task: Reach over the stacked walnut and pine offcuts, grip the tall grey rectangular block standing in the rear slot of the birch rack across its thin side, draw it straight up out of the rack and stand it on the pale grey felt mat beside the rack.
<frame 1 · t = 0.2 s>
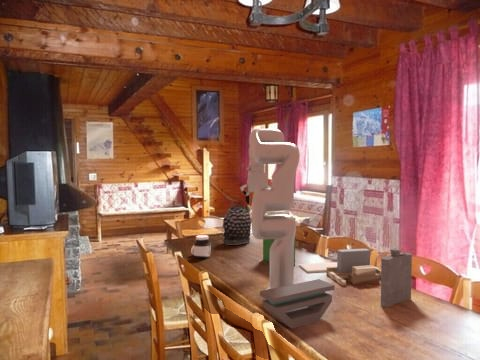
hand: (257, 203, 199), 31 cm above the table, fingers open, 9 cm apart
hip flask: (395, 302, 147), on the table
rack: (358, 278, 176), on the table
bumpy dark dome: (237, 243, 251), on the table
pine offcut: (363, 273, 171), point 4 cm above the table, touching walnut offcut
grey rectangular block: (353, 276, 180), resting in rack
sharpening stone: (297, 320, 131), on the table
walnut offcut: (363, 283, 171), on the table, touching pine offcut
felt mat: (324, 268, 193), on the table
spread jar: (200, 257, 217), on the table
hardback book: (278, 262, 204), on the table
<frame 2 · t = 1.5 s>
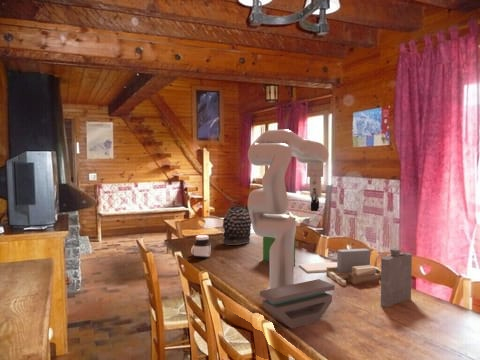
hand: (314, 209, 187), 29 cm above the table, fingers open, 9 cm apart
nothing on the table moved.
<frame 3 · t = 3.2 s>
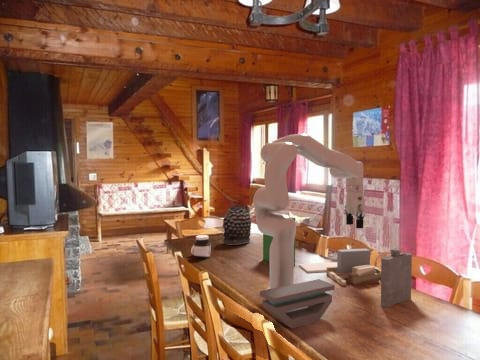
hand: (354, 226, 179), 23 cm above the table, fingers open, 9 cm apart
pine offcut: (363, 273, 171), point 4 cm above the table
walnut offcut: (363, 282, 171), on the table
everything else where it was.
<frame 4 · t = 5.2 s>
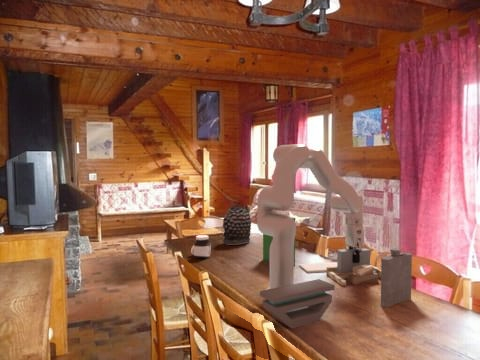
hand: (353, 261, 180), 7 cm above the table, fingers closed on grey rectangular block, 4 cm apart
pine offcut: (363, 273, 171), point 4 cm above the table, touching walnut offcut
grey rectangular block: (353, 275, 180), resting in rack, touching gripper
walnut offcut: (362, 282, 171), on the table, touching pine offcut
everything else where it was.
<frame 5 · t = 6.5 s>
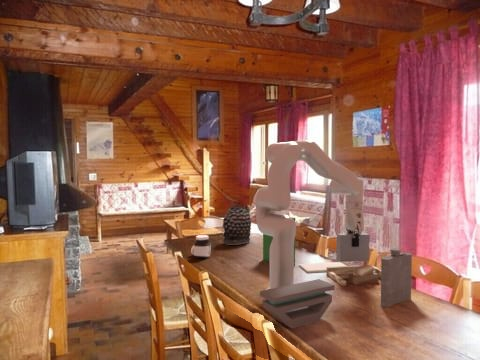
hand: (352, 245, 179), 14 cm above the table, fingers closed on grey rectangular block, 4 cm apart
grey rectangular block: (352, 260, 179), point 7 cm above the table, touching gripper
everything else where it was.
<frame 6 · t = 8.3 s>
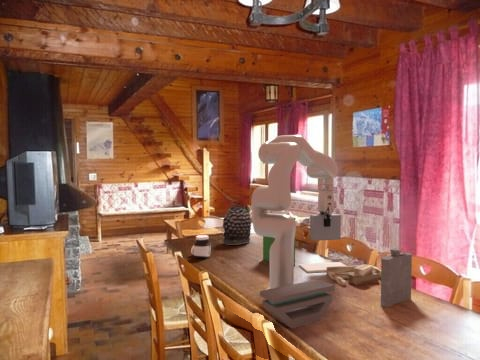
hand: (325, 225, 191), 21 cm above the table, fingers closed on grey rectangular block, 4 cm apart
pine offcut: (363, 273, 171), point 4 cm above the table
grey rectangular block: (325, 239, 192), point 14 cm above the table, touching gripper
walnut offcut: (363, 282, 171), on the table
everything else where it was.
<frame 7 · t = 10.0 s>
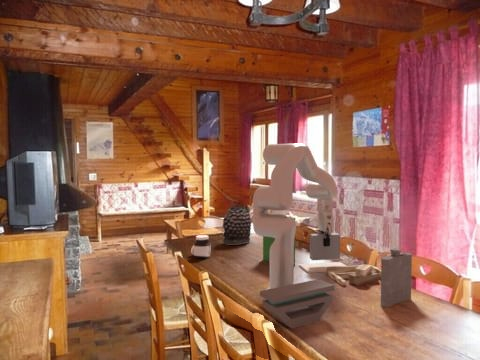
hand: (324, 244, 192), 12 cm above the table, fingers closed on grey rectangular block, 4 cm apart
pine offcut: (363, 273, 171), point 4 cm above the table, touching walnut offcut
grey rectangular block: (324, 258, 193), point 5 cm above the table, touching gripper
walnut offcut: (363, 283, 171), on the table, touching pine offcut
everything else where it was.
when the fingers open (9 cm above the table, at t = 11.3 s): grey rectangular block drops 1 cm, resting on felt mat.
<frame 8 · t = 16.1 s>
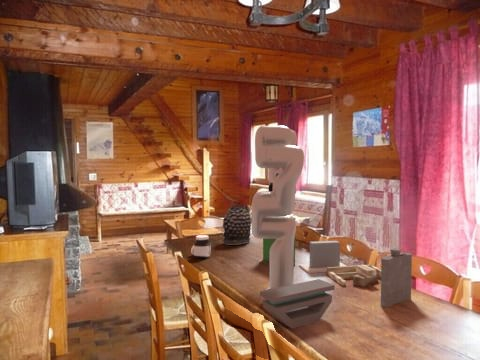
hand: (274, 195, 187), 36 cm above the table, fingers open, 9 cm apart
pine offcut: (365, 274, 170), point 4 cm above the table, touching walnut offcut
grey rectangular block: (324, 266, 193), point 1 cm above the table, touching felt mat
at the end: grey rectangular block inside the target area on the felt mat (0.2 cm from its centre), point 1.0 cm above the felt mat's base; the gripper is holding nothing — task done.
